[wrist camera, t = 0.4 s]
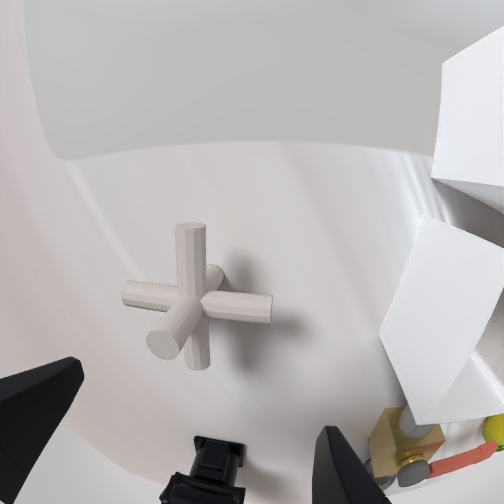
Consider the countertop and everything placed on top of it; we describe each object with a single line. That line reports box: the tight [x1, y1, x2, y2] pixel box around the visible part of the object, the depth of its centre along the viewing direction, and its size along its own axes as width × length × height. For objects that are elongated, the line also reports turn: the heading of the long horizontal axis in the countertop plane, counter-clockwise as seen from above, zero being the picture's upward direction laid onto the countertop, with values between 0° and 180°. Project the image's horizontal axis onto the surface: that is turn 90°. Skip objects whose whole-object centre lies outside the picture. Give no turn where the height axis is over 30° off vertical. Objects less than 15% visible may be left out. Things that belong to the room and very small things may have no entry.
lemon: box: [483, 413, 504, 452], centre depth 19 cm, size 7×6×10 cm
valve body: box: [364, 402, 446, 491], centre depth 21 cm, size 20×6×7 cm, turn 177°
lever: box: [397, 439, 498, 487], centre depth 16 cm, size 15×4×2 cm, turn 87°
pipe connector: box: [121, 223, 273, 370], centre depth 17 cm, size 10×10×10 cm
